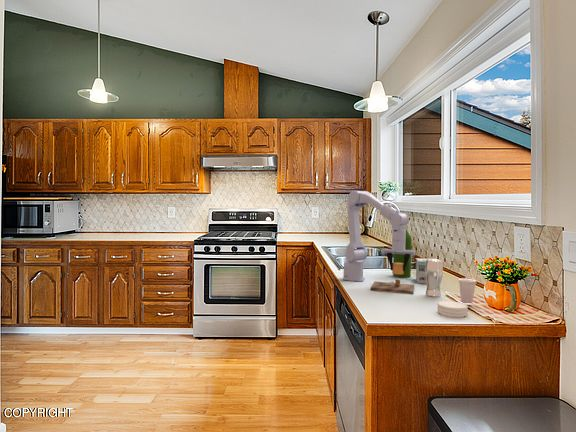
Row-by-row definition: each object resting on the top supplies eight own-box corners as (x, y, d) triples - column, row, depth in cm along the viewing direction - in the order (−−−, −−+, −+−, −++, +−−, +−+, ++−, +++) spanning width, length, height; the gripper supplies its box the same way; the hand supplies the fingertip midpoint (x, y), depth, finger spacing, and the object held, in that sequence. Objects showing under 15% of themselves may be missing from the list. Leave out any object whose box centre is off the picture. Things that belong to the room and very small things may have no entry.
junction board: (370, 290, 176) (370, 280, 176) (374, 283, 189) (374, 275, 189) (413, 293, 170) (413, 284, 170) (414, 287, 183) (414, 278, 183)
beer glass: (441, 294, 170) (442, 259, 170) (442, 298, 164) (443, 261, 163) (424, 292, 173) (425, 258, 172) (424, 296, 166) (425, 260, 165)
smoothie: (454, 302, 157) (455, 267, 156) (470, 302, 157) (471, 267, 157) (463, 306, 151) (464, 270, 150) (479, 306, 151) (480, 270, 150)
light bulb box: (432, 284, 191) (433, 261, 191) (417, 283, 192) (418, 261, 192) (429, 279, 202) (429, 258, 201) (415, 278, 203) (416, 257, 202)
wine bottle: (396, 273, 215) (398, 213, 214) (413, 276, 210) (414, 214, 209) (390, 276, 208) (392, 214, 207) (407, 278, 203) (409, 214, 201)
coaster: (473, 315, 140) (473, 305, 140) (456, 319, 135) (456, 309, 135) (448, 308, 149) (448, 299, 149) (431, 312, 143) (431, 302, 143)
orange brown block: (391, 273, 177) (392, 263, 177) (392, 272, 182) (393, 262, 181) (403, 274, 176) (403, 264, 175) (403, 272, 180) (404, 263, 180)
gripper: (381, 240, 177) (380, 270, 177) (415, 241, 172) (414, 273, 172) (382, 238, 183) (382, 268, 184) (416, 240, 178) (415, 270, 179)
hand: (397, 270), depth 179 cm, fingers closed on orange brown block, 5 cm apart
